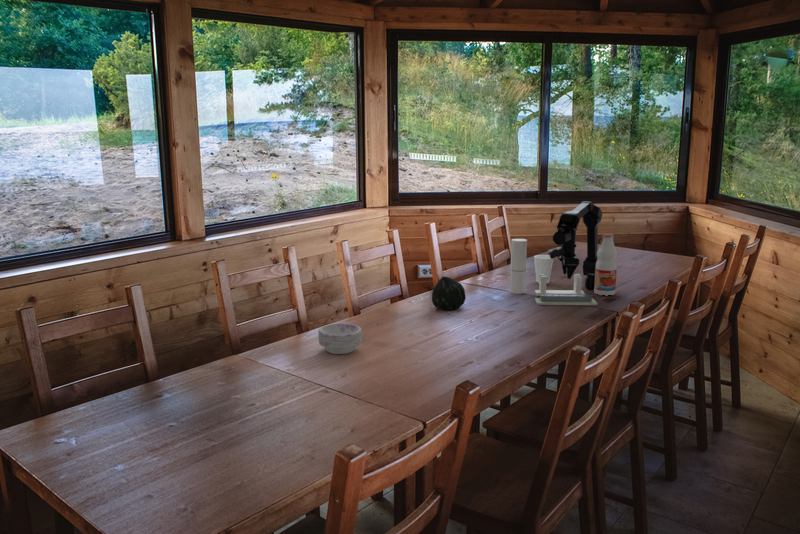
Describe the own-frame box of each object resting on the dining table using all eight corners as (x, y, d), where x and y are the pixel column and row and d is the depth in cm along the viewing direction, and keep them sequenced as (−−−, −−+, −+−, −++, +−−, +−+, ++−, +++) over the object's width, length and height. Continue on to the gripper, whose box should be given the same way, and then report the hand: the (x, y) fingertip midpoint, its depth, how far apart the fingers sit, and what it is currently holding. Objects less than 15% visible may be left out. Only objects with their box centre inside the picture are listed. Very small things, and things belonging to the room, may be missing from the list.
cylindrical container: (524, 290, 301) (526, 238, 296) (525, 293, 294) (527, 241, 289) (509, 289, 302) (510, 238, 297) (510, 293, 295) (512, 241, 290)
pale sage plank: (593, 300, 283) (593, 298, 282) (597, 305, 275) (597, 303, 275) (534, 299, 284) (534, 298, 284) (537, 304, 276) (537, 303, 276)
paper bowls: (362, 342, 230) (362, 321, 229) (361, 357, 215) (361, 335, 214) (320, 343, 230) (320, 322, 228) (316, 358, 215) (316, 336, 213)
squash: (474, 292, 276) (451, 267, 276) (468, 303, 262) (444, 276, 262) (450, 311, 281) (428, 286, 281) (443, 322, 267) (420, 296, 267)
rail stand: (582, 292, 295) (583, 274, 293) (585, 296, 290) (586, 277, 288) (534, 292, 297) (535, 273, 295) (536, 295, 291) (537, 276, 289)
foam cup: (547, 285, 310) (548, 259, 307) (530, 282, 316) (531, 257, 313) (555, 281, 318) (556, 256, 315) (538, 278, 323) (539, 254, 320)
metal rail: (589, 300, 280) (590, 294, 280) (591, 301, 277) (591, 296, 277) (540, 299, 282) (540, 294, 281) (541, 301, 279) (541, 296, 278)
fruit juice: (607, 290, 300) (610, 232, 293) (619, 295, 291) (623, 235, 285) (589, 292, 297) (593, 233, 291) (601, 297, 288) (605, 236, 282)
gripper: (546, 237, 283) (544, 271, 286) (553, 245, 265) (552, 281, 268) (571, 238, 282) (569, 271, 286) (580, 245, 264) (578, 281, 268)
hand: (566, 276), depth 277 cm, fingers open, 9 cm apart
